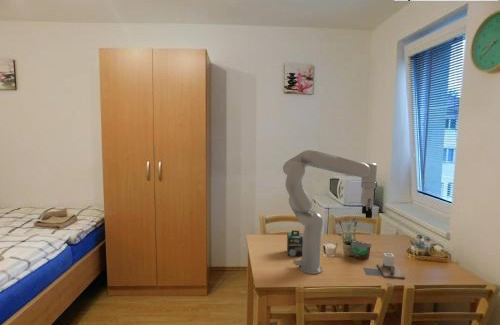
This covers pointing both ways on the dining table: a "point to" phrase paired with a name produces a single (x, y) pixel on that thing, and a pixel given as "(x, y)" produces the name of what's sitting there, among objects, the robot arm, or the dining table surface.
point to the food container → (361, 250)
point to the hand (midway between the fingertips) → (366, 215)
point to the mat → (372, 272)
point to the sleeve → (388, 260)
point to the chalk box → (294, 244)
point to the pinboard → (391, 272)
